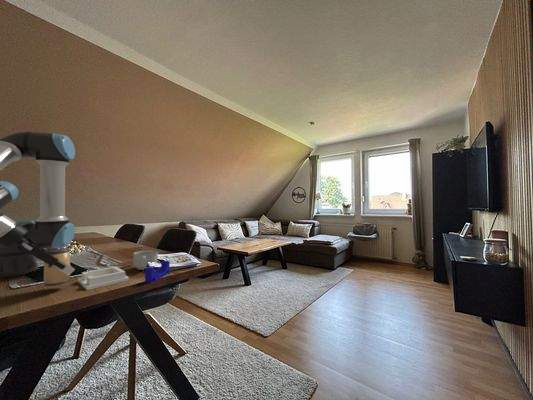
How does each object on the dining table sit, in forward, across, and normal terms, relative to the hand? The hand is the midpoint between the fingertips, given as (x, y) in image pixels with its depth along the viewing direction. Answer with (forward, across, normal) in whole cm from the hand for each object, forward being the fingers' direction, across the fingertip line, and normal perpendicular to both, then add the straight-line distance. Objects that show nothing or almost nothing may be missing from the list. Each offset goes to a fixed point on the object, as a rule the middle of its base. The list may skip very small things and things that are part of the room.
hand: (69, 270), depth 86 cm
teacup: (+25, -3, +15) cm, 29 cm away
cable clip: (+24, +14, +14) cm, 31 cm away
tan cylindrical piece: (0, 0, -5) cm, 5 cm away
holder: (+12, +2, +3) cm, 12 cm away
